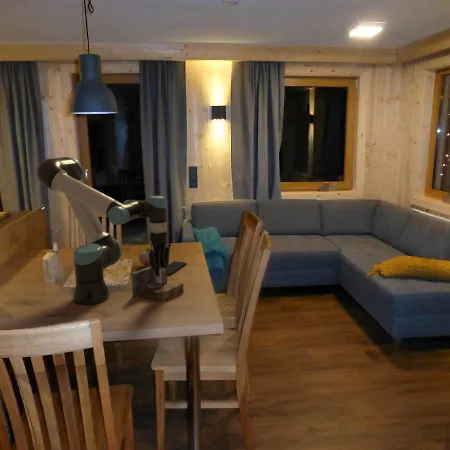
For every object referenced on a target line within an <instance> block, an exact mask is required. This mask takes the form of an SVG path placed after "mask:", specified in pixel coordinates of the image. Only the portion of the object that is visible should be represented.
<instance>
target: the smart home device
mask: <svg viewBox="0 0 450 450" xmlns="http://www.w3.org/2000/svg"><path fill="white" fill-rule="evenodd" d="M186 266H187V262H184V261H183V262H182V261H176V260H175V261H172V262H171V263H169V264H168V265H167V277H169V276H170V277H171V276H172V275H174V274H175V273H177V272H178V271H179V270H181V269H183V268H184V267H186Z"/></svg>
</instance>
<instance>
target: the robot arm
mask: <svg viewBox="0 0 450 450" xmlns="http://www.w3.org/2000/svg"><path fill="white" fill-rule="evenodd" d="M83 173H84V169H83V166H82V164H81V162H80V161H78V160H77V159H76V158H73V157H67V156H64V157H63V156H62V157H56V158H46V159H44V160H42V161H41V162H40V163H39V164H38V166H37V168H36V176H37V179H38V181H39V182H40V183H41V184H42V185H43V186H45V187H46V188H48V189H50V190H51V191H54V192H60V193H62V194H64V195H65V197H66V199H67V202H68V203H69V206H70V207H71V210H72V211H73V212H74V215H75V217H76V219H77V221H78V224H79V226H80V228H81V229H82V231H83V233H84V235H85V237H86V239H87V241H86V244H82V245H80V246H78V247H76V248H75V249H74V251H73V262H74V264H73V265H74V275H75V276H74V277H75V286H74V290H73V294H72V300H73V301H72V302H74V303H75V304H77V305H83V306H87V305H88V306H89V305H90V306H91V305H95V304H100V303H103V302H105V301H107V300H108V299H109V298H110V291H109V288H108V287H107V284H106V282H105V279H104V276H105V275H104V270H106V269H107V268H109V267H111V266H113V265H115V264H116V263H117V262H119V260H120V259H121V258H122V255H123V248H122V245H121V243H120V242H119V241H118V240H116V239H115V238H113V237H112V235H111V234H110V233H109V232H106V231H105V229H104V227H103V224H102V223H101V221H100V219H99V217H98V214H97V212H99V213H101V214H102V215H104V216H106V217H107V218H108V220H109V222H110V223H111V224H112V225H115V226H119V225H123V224H126V223H128V222H130V221H133V220H135V219H138V218H144V219H148V224H149V239H150V242H151V244H150V247H149V248H146V250H147V252H148V254H149V259H150V264H151V265H150V266H151V268H152V269H155V276H156V282H157V283H162V272H161V269H162V270H163V271H164V273H165V268H167V266H166V265H169V264H170V263H169V260H170V252H171V251H170V249H171V247H172V244H171V243H169V242H167V241H166V240H168V238H167V237H168V232H167V230H168V227H167V225H168V224H167V204H166V203H167V201H166V197H165V196H162V195H151V196H149V197H148V198H147V200H138V199H137V200H136V199H127V200H124V201H123V203H121V202H119V201H118V200H116V199H114V198H112V197H110V196H108V195H106V194H104V193H102V192H100V191H99V190H97V189H95V188H93V187H91V186H89V185H88V184H86V183H84V182H85V181H84V178H83V175H84V174H83ZM160 264H161V267H160ZM163 282H165V280H164V281H163Z"/></svg>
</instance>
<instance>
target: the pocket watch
mask: <svg viewBox="0 0 450 450" xmlns="http://www.w3.org/2000/svg"><path fill="white" fill-rule="evenodd" d="M160 266H161V264H160ZM161 272H162V282H163V281H164V280H165V273H164V271H163V270H162V269H161ZM154 278H155V280H156V276H155V270H154ZM161 285H162V284H161V283H157V282H151V283H148V284H147V287H148V288H158V287H160V286H161Z"/></svg>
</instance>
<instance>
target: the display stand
mask: <svg viewBox="0 0 450 450" xmlns="http://www.w3.org/2000/svg"><path fill="white" fill-rule="evenodd" d="M166 266H167V265H166ZM160 267H161V266H160ZM154 270H155V269H152V268H151V265H150V266H146V267H145V268H141V269H139V270H136V271H134V272H131V284H132V285H131V286H132V297H133V298H138V297H141V296H142V297H145V298H147V299H152V300H154V301H159V302H161V303H162V301H163V302H165V301H167V300H169V299H171V297H172V298H173V296H174V297H176V296H178V295H180V294H182V293H184V283H183V282H179V283H177V284H174V285H170V284H168V276H167V268H165V282H162V283H161V284H162V285H161V286H160V287H158V288H148V287H147V284H148V283H151V282H156V280H155V278H154Z"/></svg>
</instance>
